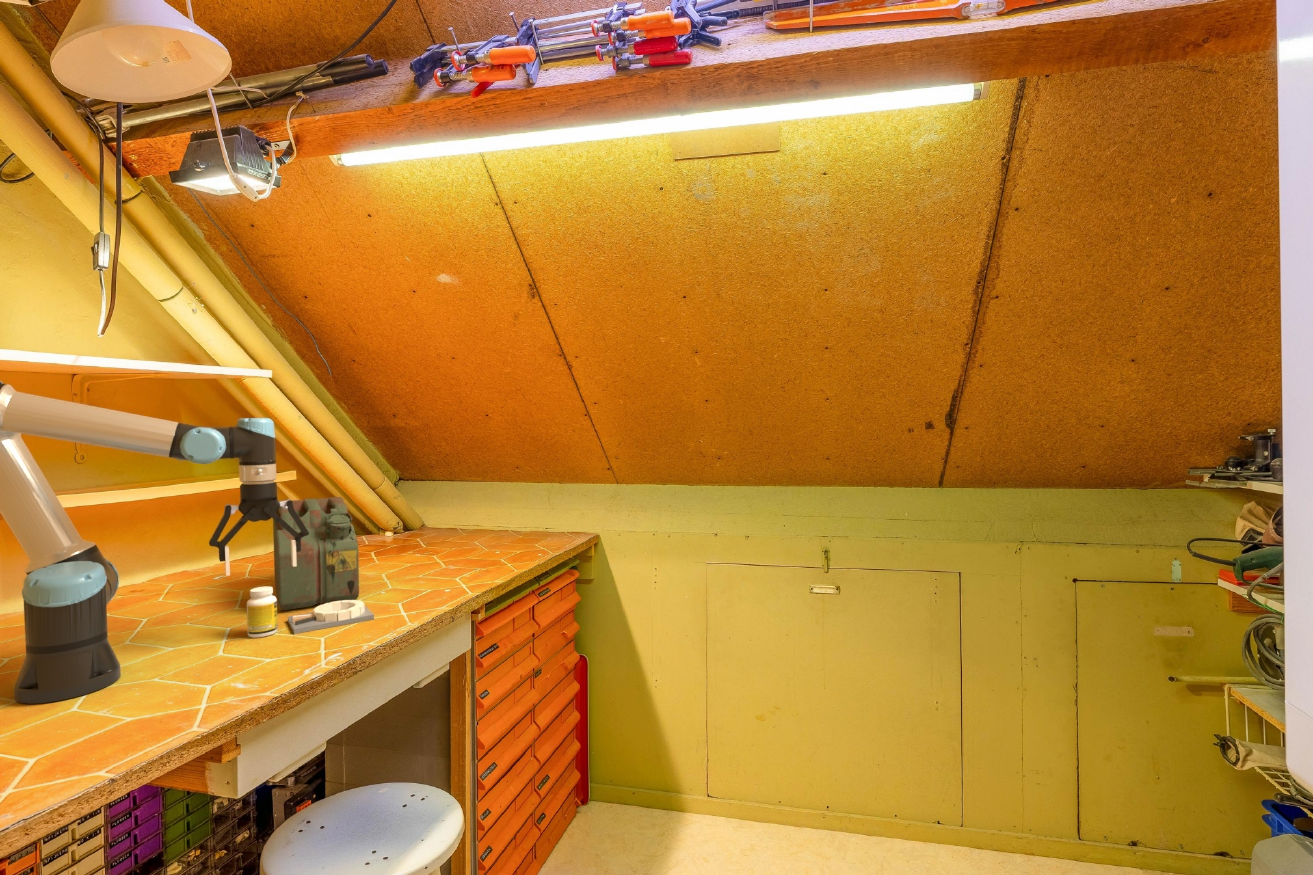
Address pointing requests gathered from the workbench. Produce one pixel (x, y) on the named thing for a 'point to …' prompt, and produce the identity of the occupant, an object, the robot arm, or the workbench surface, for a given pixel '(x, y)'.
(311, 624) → the junction plate
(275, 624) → the pill bottle
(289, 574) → the fuel can
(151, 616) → the workbench surface
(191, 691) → the workbench surface
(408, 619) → the workbench surface
